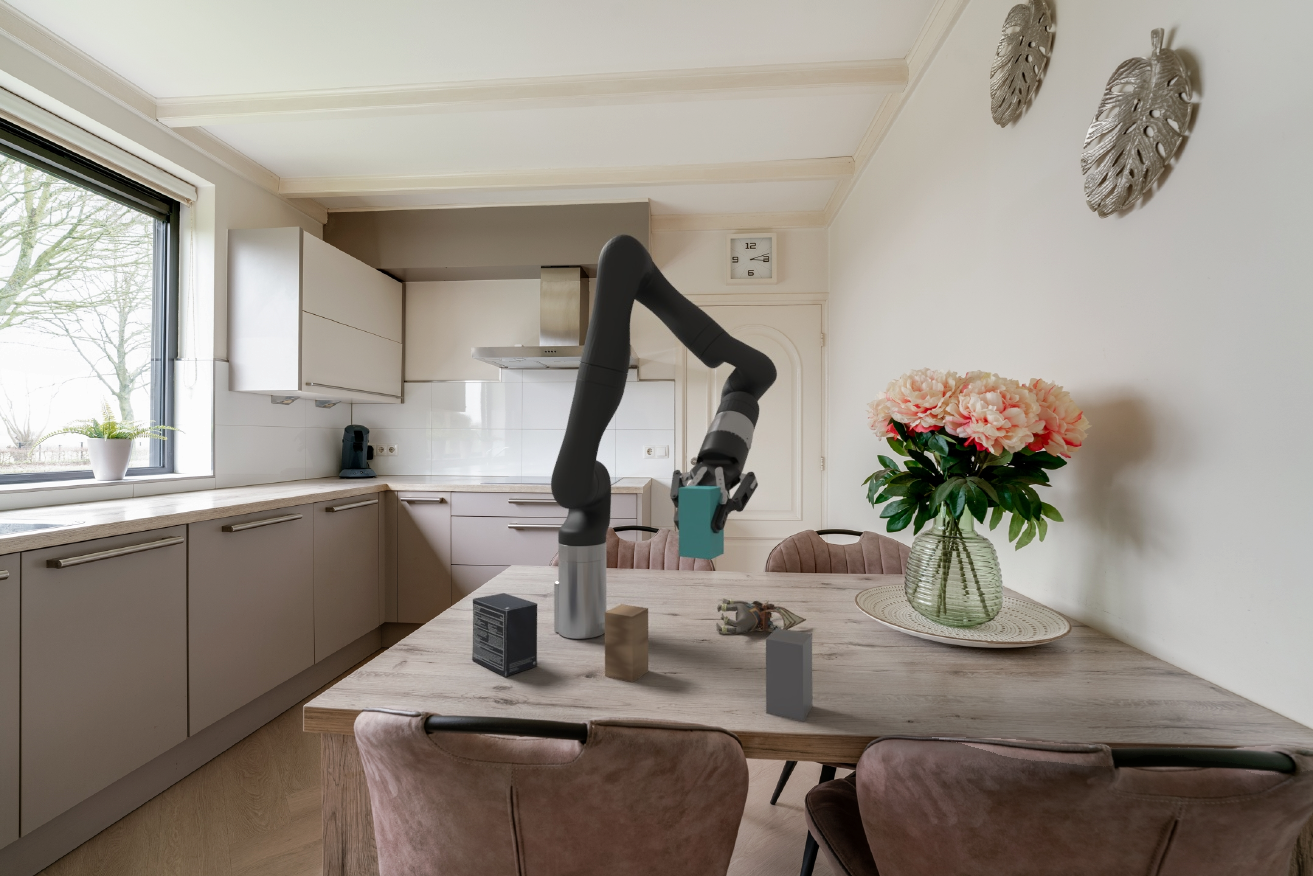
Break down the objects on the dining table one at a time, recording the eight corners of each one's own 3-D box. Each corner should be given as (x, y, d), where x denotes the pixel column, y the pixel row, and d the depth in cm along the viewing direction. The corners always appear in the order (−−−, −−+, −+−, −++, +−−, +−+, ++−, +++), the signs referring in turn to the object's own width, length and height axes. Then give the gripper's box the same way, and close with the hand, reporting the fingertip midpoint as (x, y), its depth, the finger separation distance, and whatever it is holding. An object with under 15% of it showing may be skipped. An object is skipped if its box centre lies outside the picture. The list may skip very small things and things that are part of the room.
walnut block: (605, 676, 89) (604, 612, 89) (621, 665, 94) (621, 604, 94) (632, 682, 87) (632, 616, 87) (648, 670, 91) (648, 608, 91)
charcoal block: (766, 713, 77) (765, 638, 77) (776, 698, 81) (776, 628, 81) (803, 721, 75) (802, 645, 75) (812, 706, 79) (812, 633, 79)
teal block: (678, 556, 83) (678, 487, 83) (693, 550, 88) (693, 485, 88) (710, 559, 81) (710, 489, 81) (723, 553, 85) (723, 486, 85)
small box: (540, 666, 93) (540, 602, 94) (505, 678, 89) (505, 610, 89) (504, 650, 101) (504, 590, 101) (470, 661, 96) (470, 598, 96)
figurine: (725, 588, 123) (806, 594, 119) (725, 616, 123) (806, 623, 119) (711, 608, 104) (807, 616, 100) (710, 642, 104) (806, 651, 99)
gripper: (680, 429, 94) (644, 509, 84) (763, 427, 88) (736, 515, 77) (693, 460, 99) (661, 540, 88) (774, 461, 92) (749, 548, 82)
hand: (696, 528), depth 83 cm, fingers closed on teal block, 5 cm apart
